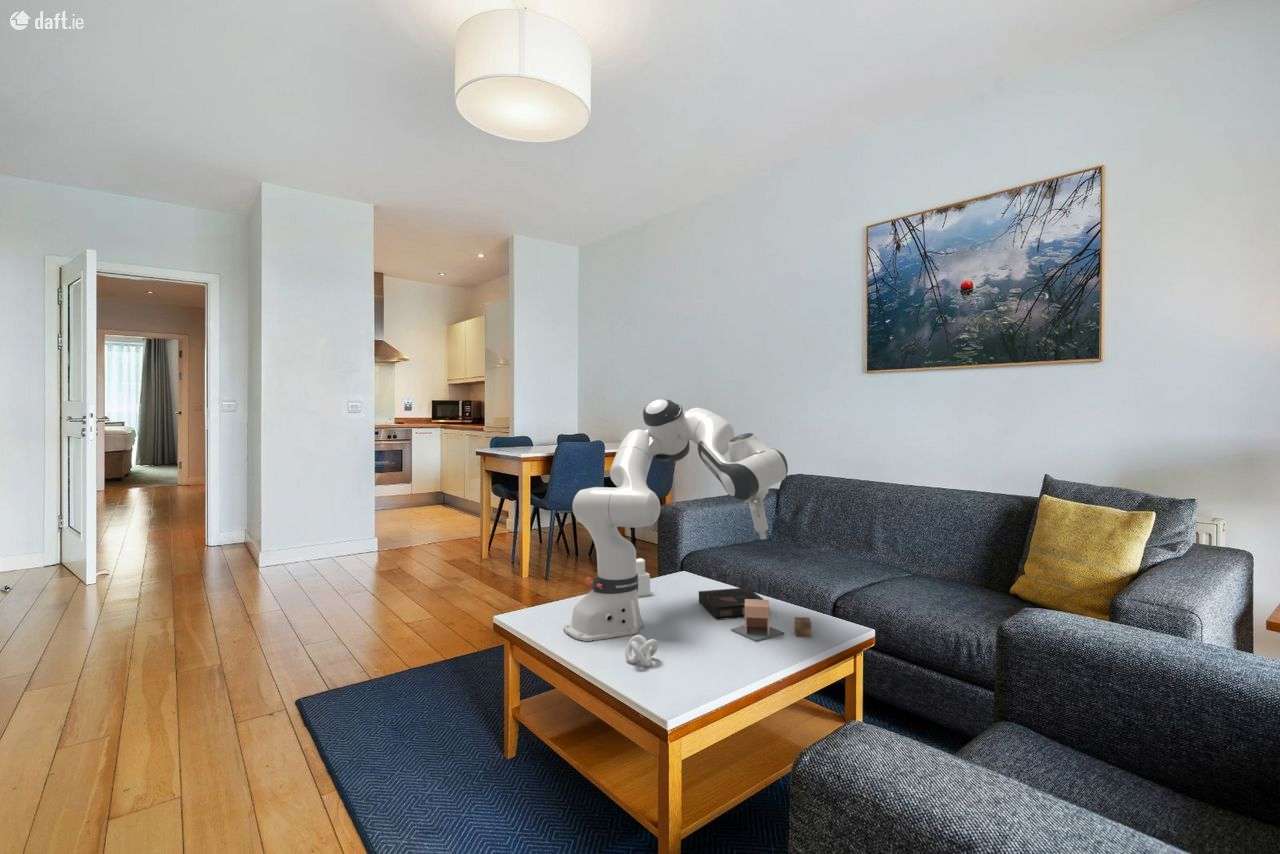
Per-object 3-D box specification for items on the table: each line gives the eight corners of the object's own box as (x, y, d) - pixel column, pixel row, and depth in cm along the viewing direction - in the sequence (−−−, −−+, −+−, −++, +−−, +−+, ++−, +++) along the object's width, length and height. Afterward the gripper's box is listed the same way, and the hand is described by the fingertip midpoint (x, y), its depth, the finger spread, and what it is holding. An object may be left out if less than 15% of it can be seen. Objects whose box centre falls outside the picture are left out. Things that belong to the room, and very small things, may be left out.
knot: (649, 653, 152) (649, 630, 151) (665, 665, 144) (665, 640, 144) (622, 659, 148) (622, 635, 148) (637, 671, 141) (636, 646, 141)
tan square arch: (744, 634, 162) (744, 606, 162) (745, 625, 169) (744, 598, 168) (769, 635, 161) (769, 607, 161) (768, 626, 167) (768, 599, 167)
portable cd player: (716, 621, 175) (716, 607, 175) (698, 603, 192) (698, 591, 192) (769, 616, 178) (769, 603, 178) (747, 599, 195) (747, 587, 195)
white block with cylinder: (622, 592, 204) (622, 556, 204) (642, 589, 207) (641, 554, 206) (630, 598, 197) (629, 561, 197) (650, 595, 200) (650, 559, 200)
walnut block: (795, 636, 161) (795, 622, 161) (794, 631, 165) (794, 617, 165) (811, 637, 161) (811, 622, 160) (809, 632, 164) (809, 617, 164)
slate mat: (756, 641, 158) (756, 639, 158) (730, 630, 166) (730, 628, 166) (783, 633, 163) (783, 632, 163) (757, 623, 172) (757, 621, 172)
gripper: (767, 500, 163) (777, 545, 167) (759, 472, 182) (767, 512, 186) (744, 505, 164) (754, 550, 167) (738, 476, 183) (747, 516, 187)
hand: (761, 530), depth 177 cm, fingers open, 8 cm apart
